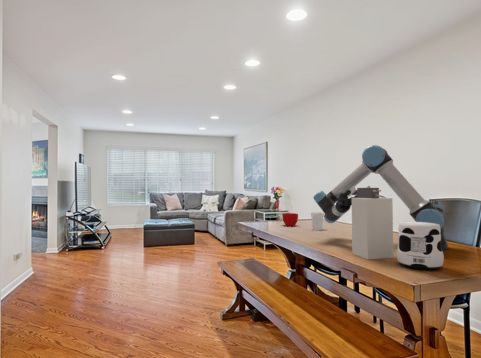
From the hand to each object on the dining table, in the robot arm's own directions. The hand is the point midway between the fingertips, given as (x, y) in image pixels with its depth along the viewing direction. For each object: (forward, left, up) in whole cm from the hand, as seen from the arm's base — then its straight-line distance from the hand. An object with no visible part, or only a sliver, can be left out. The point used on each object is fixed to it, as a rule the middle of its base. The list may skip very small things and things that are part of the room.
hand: (362, 188), depth 159 cm
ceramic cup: (+62, -83, -33) cm, 109 cm away
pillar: (-4, +5, -33) cm, 34 cm away
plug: (0, +1, -5) cm, 5 cm away
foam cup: (+37, -68, -33) cm, 85 cm away
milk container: (-23, +18, -33) cm, 44 cm away
